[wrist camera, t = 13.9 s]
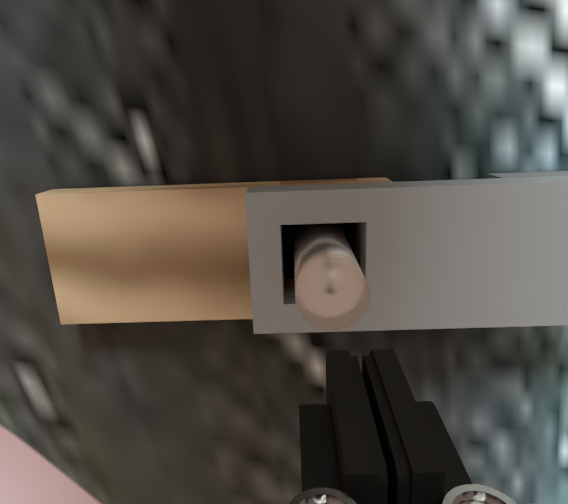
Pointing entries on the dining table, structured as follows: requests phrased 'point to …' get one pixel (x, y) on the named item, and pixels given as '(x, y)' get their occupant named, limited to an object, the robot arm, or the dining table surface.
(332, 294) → the pin
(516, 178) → the link
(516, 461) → the dining table surface
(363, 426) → the robot arm
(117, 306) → the link
